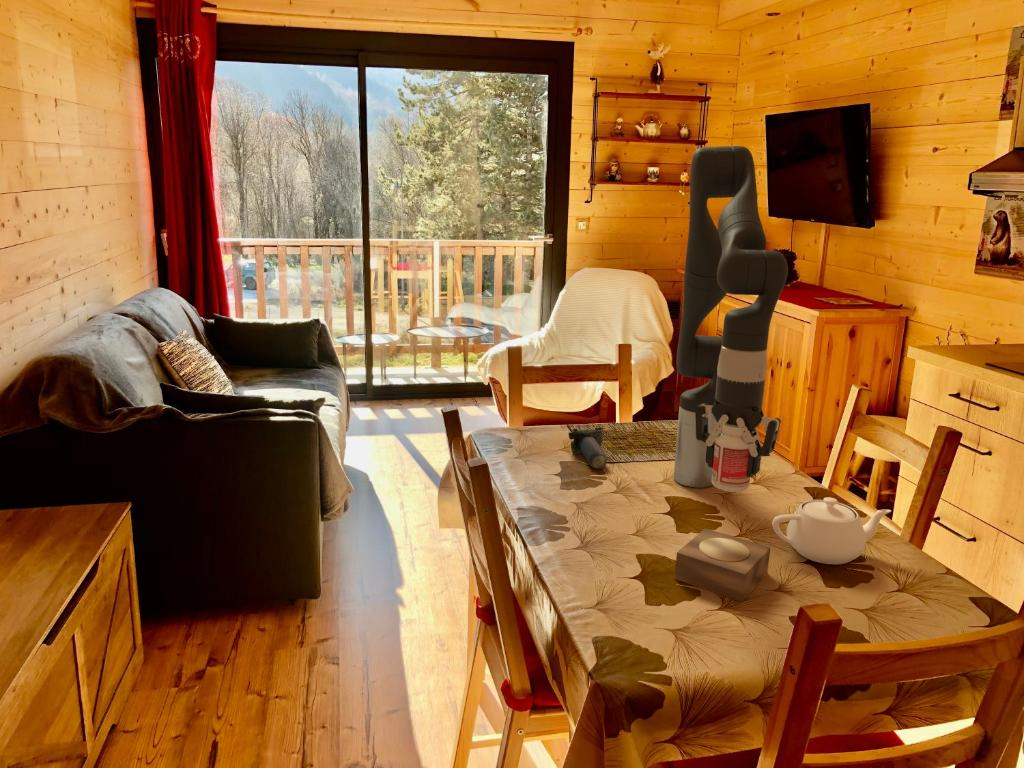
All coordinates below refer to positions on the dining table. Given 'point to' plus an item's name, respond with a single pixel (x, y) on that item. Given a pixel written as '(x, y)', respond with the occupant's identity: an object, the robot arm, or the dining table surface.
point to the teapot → (827, 531)
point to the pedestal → (722, 564)
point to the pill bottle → (730, 460)
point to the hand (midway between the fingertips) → (731, 470)
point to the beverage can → (589, 446)
